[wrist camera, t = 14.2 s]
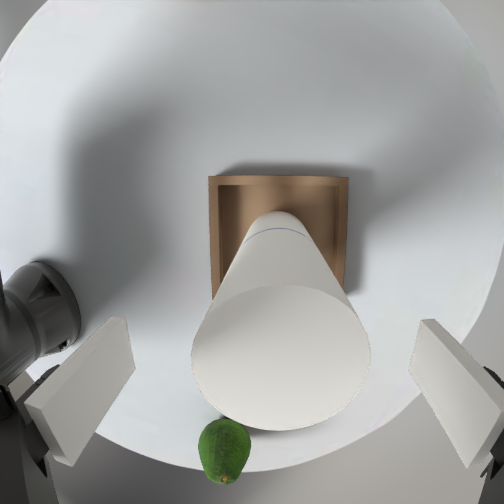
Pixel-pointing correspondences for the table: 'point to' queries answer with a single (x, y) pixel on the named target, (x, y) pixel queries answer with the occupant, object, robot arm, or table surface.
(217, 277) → the tray
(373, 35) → the table surface
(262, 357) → the cylindrical container
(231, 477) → the avocado
